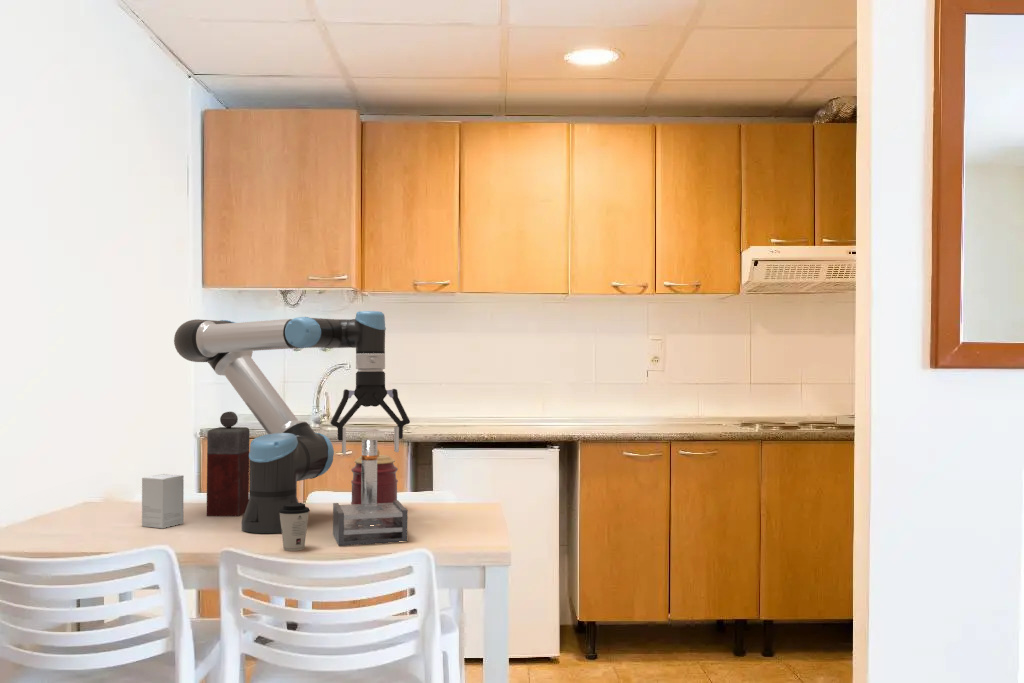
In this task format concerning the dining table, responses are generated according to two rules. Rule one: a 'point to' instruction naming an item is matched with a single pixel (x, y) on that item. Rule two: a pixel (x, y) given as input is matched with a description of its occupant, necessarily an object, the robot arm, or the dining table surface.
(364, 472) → the tube
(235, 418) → the square decanter
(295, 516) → the coffee cup
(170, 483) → the supplement box
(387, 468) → the canister
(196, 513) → the dining table surface
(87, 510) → the dining table surface
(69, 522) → the dining table surface
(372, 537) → the collar stand
